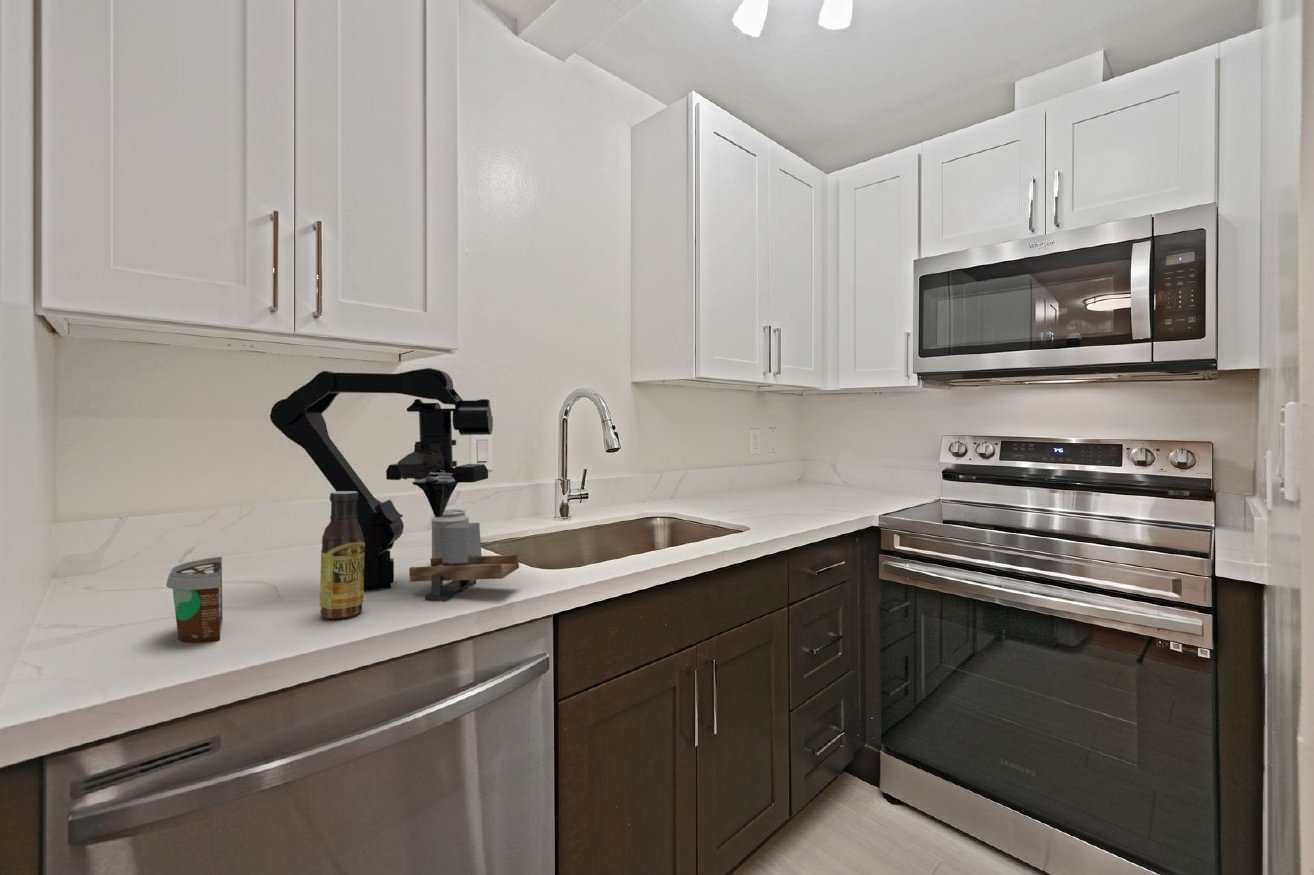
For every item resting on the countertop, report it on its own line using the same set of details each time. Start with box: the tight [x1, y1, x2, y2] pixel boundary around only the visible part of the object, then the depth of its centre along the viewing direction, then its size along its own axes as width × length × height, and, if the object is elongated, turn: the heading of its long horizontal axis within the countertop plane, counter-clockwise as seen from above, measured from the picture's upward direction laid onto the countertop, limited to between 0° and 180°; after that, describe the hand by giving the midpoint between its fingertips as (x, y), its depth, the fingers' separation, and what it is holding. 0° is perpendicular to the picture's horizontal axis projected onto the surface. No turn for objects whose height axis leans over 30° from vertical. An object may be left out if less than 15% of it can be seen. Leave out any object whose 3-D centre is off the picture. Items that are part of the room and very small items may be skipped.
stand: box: [424, 574, 477, 602], centre depth 106 cm, size 4×11×4 cm, turn 170°
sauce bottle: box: [319, 491, 365, 620], centre depth 93 cm, size 6×6×20 cm
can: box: [431, 508, 470, 558], centre depth 124 cm, size 8×8×12 cm
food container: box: [165, 556, 224, 644], centre depth 84 cm, size 12×6×10 cm, turn 35°
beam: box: [408, 554, 520, 583], centre depth 105 cm, size 18×8×3 cm, turn 80°
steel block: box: [440, 522, 482, 566], centre depth 105 cm, size 5×5×8 cm
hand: (438, 516), depth 111 cm, fingers closed
